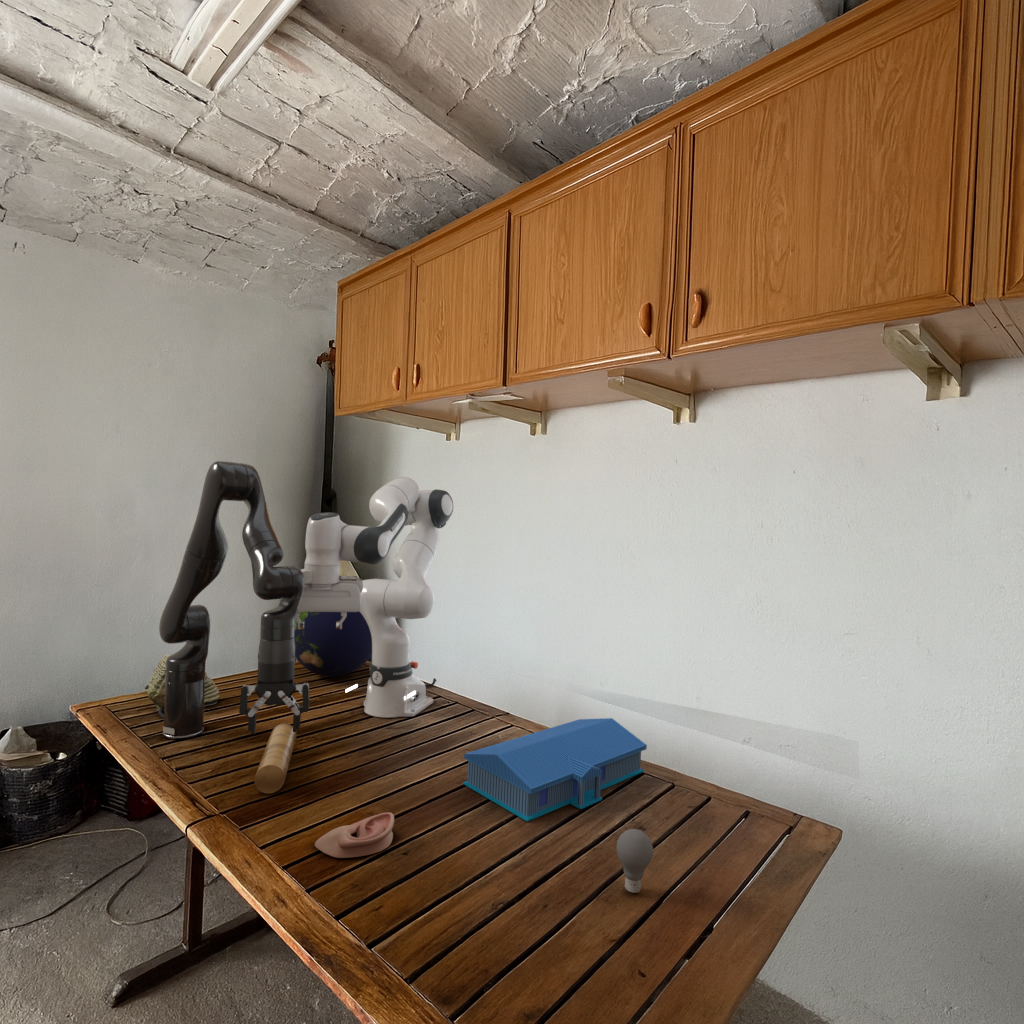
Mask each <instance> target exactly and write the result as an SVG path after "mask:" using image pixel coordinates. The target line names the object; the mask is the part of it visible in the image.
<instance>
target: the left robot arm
mask: <svg viewBox="0 0 1024 1024" xmlns="http://www.w3.org/2000/svg"><path fill="white" fill-rule="evenodd" d="M201 491H202V492H201V496H200V500H199V506H198V511H197V514H196V518H195V521H194V524H193V527H192V530H191V533H190V536H189V540H188V542H187V544H186V548H185V551H184V554H183V557H182V561H181V565H180V567H179V571H178V574H177V577H176V580H175V583H174V585H173V588H172V591H171V593H170V595H169V598H168V599H167V601H166V604H165V605H164V609H163V611H162V613H161V616H160V619H159V625H158V626H159V627H158V632H159V637H160V638H161V641H163V642H164V643H166V644H170V645H172V644H183V643H185V644H184V645H183V646H182V648H180V649H179V650H177V651H176V652H174V653H172V654H169V655H170V656H169V657H168V658H167V660H166V674H165V705H164V708H161V709H160V710H157V711H158V712H157V714H158V716H159V717H161V718H162V719H163V726H162V737H164V738H166V739H169V740H185V739H190V738H191V739H192V738H194V737H197V736H199V735H202V734H203V732H204V730H205V729H204V722H205V721H204V718H205V706H204V693H205V672H206V664H207V663H206V662H207V658H208V655H209V644H210V634H211V616H210V613H209V610H208V608H207V607H206V606H205V605H203V604H192V603H194V600H195V599H196V598H197V597H198V596H199V594H200V593H202V592H203V591H204V590H205V589H207V587H209V585H210V584H211V583H213V582H214V581H215V579H216V578H218V576H219V575H220V573H221V572H222V569H223V566H224V564H225V561H226V558H227V555H228V552H229V542H228V539H227V537H226V534H225V531H224V529H223V526H222V524H221V521H220V509H221V505H222V503H223V501H227V502H228V501H229V502H230V501H231V502H243V503H244V504H245V505H246V507H247V509H248V512H247V517H246V518H245V521H244V523H243V527H242V531H241V537H242V541H243V542H242V543H243V545H244V548H245V550H246V552H247V554H248V557H249V559H250V563H251V572H252V589H253V593H255V595H256V596H257V597H258V598H259V599H261V600H263V601H272V600H279V602H280V603H279V602H278V605H277V606H275V607H272V608H270V609H268V610H265V611H264V612H262V614H261V616H260V628H259V629H260V631H259V643H258V652H257V682H256V685H250V684H248V683H244V684H243V686H242V687H241V689H240V698H239V708H238V713H239V715H244V716H246V717H247V718H248V719H247V730H248V732H250V734H251V735H255V734H256V733H257V715H258V714H257V713H258V711H259V710H260V708H262V707H263V705H266V706H267V707H268V706H269V707H271V706H283V705H285V706H287V708H288V709H290V710H291V712H292V713H293V715H292V726H293V732H296V733H297V731H298V730H299V729H300V727H301V719H302V718H301V717H302V714H303V713H307V712H309V710H310V704H311V703H310V683H309V682H308V681H305V682H303V683H297V684H296V682H295V668H296V667H295V666H296V665H295V664H296V657H295V640H294V633H295V617H296V614H297V610H298V607H299V603H300V600H301V597H302V594H303V591H304V586H305V579H304V575H303V573H302V571H301V568H299V567H298V566H295V565H283V566H277V565H279V564H280V563H281V562H282V561H283V559H284V555H285V553H284V550H283V547H282V545H281V543H280V540H279V538H278V536H277V534H276V531H275V529H274V527H273V525H272V522H271V518H270V514H269V510H268V505H267V501H266V496H265V493H264V487H263V485H262V481H261V477H260V475H259V472H258V471H257V469H256V467H254V465H251V464H248V463H243V462H233V461H224V460H216V461H214V462H212V463H211V465H210V466H209V467H208V469H207V472H206V475H205V478H204V482H203V485H202V490H201ZM280 599H281V601H280ZM148 688H149V684H147V685H146V686H145V688H144V690H148ZM296 691H297V692H298V693H299V694H300V695H302V705H299V703H298V702H297V700H296V699H295V698H294V696H293V694H294V693H295V692H296ZM253 692H254V693H255V694H256V695H257V696H258V699H257V700H256V702H255V703H254V704H253V705H252V706H251V707H249V706H248V701H249V697H250V696H251V695H252V693H253Z"/></svg>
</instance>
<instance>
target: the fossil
mask: <svg viewBox="0 0 1024 1024" xmlns="http://www.w3.org/2000/svg"><path fill="white" fill-rule="evenodd" d="M170 655H171V654H165V655H164V656H163V657H162V658H161V659H160V660H159V662H158V663H157V666H156V667H155V669H154V670H153V672H152V675H151V677H150V680H149V684H148V685H149V688H148V689H147V697H148V699H149V700H150V701H152V703H153V704H154V706H155V711H159V710H160V709H161V708H164V705H165V674H166V660H167V658H168V657H169V656H170ZM220 698H221V696H220V690H219V688H218V686H217V685H216V683H215V682H214V681H213V679H212V678H211V677H209V675H208V674H207V672H206V671H205V693H204V707H207V706H213V705H215V704H217V703H218V701H219V699H220Z"/></svg>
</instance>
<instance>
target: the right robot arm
mask: <svg viewBox="0 0 1024 1024" xmlns="http://www.w3.org/2000/svg"><path fill="white" fill-rule="evenodd" d="M368 507H369V512H370V514H371V516H372V518H373V519H374V521H376V522H377V524H379V525H373V526H363V525H351V524H348V523H345V522H344V521H342V520H341V518H340V514H338V513H336V512H330V511H329V512H328V511H327V512H318V513H317V512H316V513H314V514H312V515H310V516H309V519H308V521H307V524H306V529H305V530H306V531H305V540H304V541H305V543H304V545H305V546H304V547H305V553H306V557H305V560H304V566H303V567H304V568H300V570H301V571H302V573H303V575H304V579H305V586H304V591H303V594H302V597H301V600H300V603H299V607H298V610H297V614H296V617H295V620H296V621H297V623H298V629H304V622H302V621H301V620H300V618H299V615H300V612H341V616H343V617H342V618H341V620H340V621H337V622H336V629H342V623H343V621H344V620H345V618H346V616H347V612H358V611H359V612H360V613H361V614H362V616H363V617H364V618H365V620H366V622H367V624H368V626H369V629H370V632H371V638H372V655H371V662H370V664H369V676H370V677H369V678H368V681H367V688H366V695H365V700H363V704H362V705H363V706H364V709H363V712H364V713H365V714H367V715H369V716H372V717H375V718H386V719H387V718H390V719H391V718H399V717H401V718H402V717H404V718H405V717H408V718H410V717H415V716H416V715H418V714H419V713H421V712H422V711H424V710H425V709H426V708H428V707H430V706H431V704H433V703H434V699H433V698H432V697H430V696H428V695H427V689H426V688H428V687H433V686H434V685H435V684H436V682H437V679H436V678H433V680H432V683H427V684H425V682H424V681H422V680H421V679H420V678H418V677H417V676H416V675H415V673H414V672H413V669H414V670H416V669H418V667H419V663H418V662H417V661H411V662H410V651H411V639H410V636H409V634H408V633H407V632H406V631H405V630H403V629H402V628H401V627H400V625H399V624H398V622H397V620H396V619H405V620H417V619H425V618H428V616H429V615H430V614H431V613H432V611H433V609H434V606H435V602H436V601H435V594H434V591H433V589H432V588H431V586H429V585H428V583H427V580H426V579H427V574H428V572H429V569H430V567H431V564H432V563H433V561H434V559H435V556H436V554H437V551H438V548H439V544H440V539H441V535H440V531H439V529H442V528H444V527H445V526H446V525H447V522H449V520H450V518H451V516H452V514H453V512H454V501H453V498H452V496H451V494H450V493H449V492H448V491H446V490H443V489H424V490H420V488H419V485H418V483H417V482H416V481H415V480H414V479H412V478H411V477H409V476H400V477H397V478H394V479H392V480H390V481H388V482H386V483H385V484H384V485H382V486H381V487H380V488H378V489H377V490H376V491H375V492H374V493H373V494H372V496H371V497H370V499H369V503H368ZM405 526H406V527H407V526H411V527H410V532H409V533H408V534H407V535H406V537H405V539H404V540H403V542H402V544H401V545H400V548H399V549H398V550H397V553H396V554H395V556H394V558H393V560H392V569H393V572H394V573H395V575H396V576H397V578H398V579H385V578H369V579H362V578H360V577H358V575H357V576H356V575H352V576H351V575H341V561H346V562H353V563H362V564H366V565H367V564H368V565H373V566H375V565H378V564H380V563H381V562H382V561H383V560H384V559H386V557H387V556H388V554H389V552H390V549H391V546H392V545H393V543H394V542H395V540H396V539H397V538H398V537H399V535H400V533H401V532H402V531H403V530H404V528H405ZM280 601H281V599H279V602H278V604H279V603H280ZM358 685H359V684H358V683H356V684H354V685H352V686H350V687H348V688H346V689H345V693H348V692H350V691H352V690H354V689H357V688H358V687H359V686H358Z"/></svg>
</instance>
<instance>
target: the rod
mask: <svg viewBox="0 0 1024 1024" xmlns="http://www.w3.org/2000/svg"><path fill="white" fill-rule="evenodd" d="M297 735H298V734H297V731H296V732H293V725H291V724H289V723H280V724H278V725H276V726H274V728H273V729H272V730H271V733H270V736H269V737H268V741H267V743H266V746H265V749H264V751H263V754H262V757H261V759H260V761H259V765H258V767H257V770H256V773H255V775H254V785H255V788H256V789H257V790H258V791H259V792H261V793H263V794H273V793H276V792H279V790H281V789H282V787H283V786H284V785H285V781H286V778H287V774H288V770H289V766H290V762H291V759H292V755H293V752H294V748H295V744H296V740H297Z"/></svg>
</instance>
